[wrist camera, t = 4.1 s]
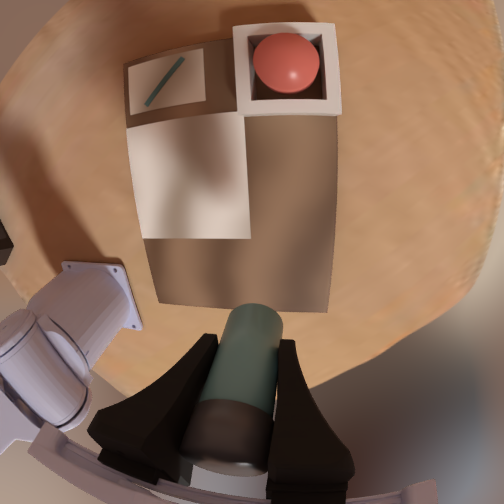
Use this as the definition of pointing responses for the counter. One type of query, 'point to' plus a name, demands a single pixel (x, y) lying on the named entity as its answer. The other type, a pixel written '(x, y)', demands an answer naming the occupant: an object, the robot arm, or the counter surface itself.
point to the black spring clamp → (4, 245)
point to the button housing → (250, 106)
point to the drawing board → (229, 185)
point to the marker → (238, 397)
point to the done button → (286, 63)
